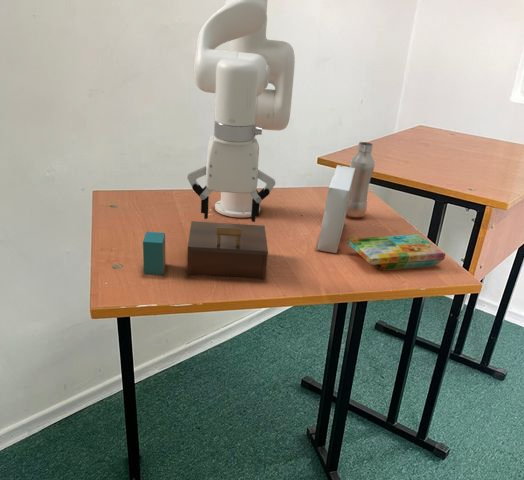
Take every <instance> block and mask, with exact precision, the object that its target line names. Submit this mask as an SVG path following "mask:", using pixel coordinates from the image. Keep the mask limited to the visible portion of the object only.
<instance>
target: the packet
mask: <svg viewBox="0 0 524 480" xmlns="http://www.w3.org/2000/svg"><path fill="white" fill-rule="evenodd" d="M142 256H143V257H142V259H143V260H142V261H143V274H144V275H156V276H163V275H164V274H165V273H164V272H165V268H166V232H158V231H157V232H156V231H146V232H145V233H144V237H143V240H142Z"/></svg>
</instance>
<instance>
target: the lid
mask: <svg viewBox="0 0 524 480" xmlns="http://www.w3.org/2000/svg"><path fill="white" fill-rule="evenodd" d="M188 250H194V251H212V252H229V253H247V254H265V255H267V256H268V255H269V247H268V240H267V233H266V226H265V225H262V224H243V223H229V222H227V223H225V222H211V221H196V220H195V221H194V220H191V222H190V229H189V236H188V242H187V251H188Z"/></svg>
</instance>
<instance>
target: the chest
mask: <svg viewBox="0 0 524 480" xmlns="http://www.w3.org/2000/svg"><path fill="white" fill-rule="evenodd" d="M267 264H268V255H265V254H247V253H229V252H212V251H194V250H188V249H187V276H193V277H195V276H198V277H215V278H232V279H233V278H234V279H252V280H266V276H267V275H266V274H267Z"/></svg>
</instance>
